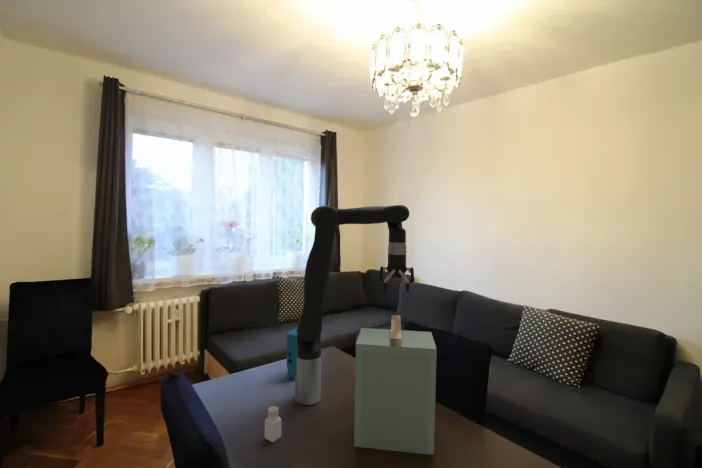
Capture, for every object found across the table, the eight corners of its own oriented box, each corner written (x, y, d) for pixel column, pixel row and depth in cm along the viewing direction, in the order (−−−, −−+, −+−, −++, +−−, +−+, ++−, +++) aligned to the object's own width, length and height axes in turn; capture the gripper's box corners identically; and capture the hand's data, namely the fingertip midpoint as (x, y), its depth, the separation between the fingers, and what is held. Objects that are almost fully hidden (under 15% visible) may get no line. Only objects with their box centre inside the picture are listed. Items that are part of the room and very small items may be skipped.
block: (294, 381, 148) (295, 335, 147) (285, 378, 150) (285, 333, 149) (310, 370, 158) (311, 328, 158) (301, 368, 161) (302, 326, 160)
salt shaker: (263, 438, 108) (264, 409, 108) (273, 432, 112) (273, 404, 111) (272, 443, 106) (273, 413, 106) (282, 437, 109) (282, 407, 109)
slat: (390, 346, 103) (390, 338, 103) (391, 321, 129) (391, 315, 129) (401, 346, 102) (401, 338, 102) (400, 321, 128) (400, 315, 128)
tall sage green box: (354, 446, 105) (355, 343, 104) (359, 417, 121) (361, 327, 120) (433, 455, 102) (436, 349, 101) (428, 423, 118) (431, 332, 117)
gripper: (379, 253, 140) (378, 293, 140) (414, 254, 138) (414, 294, 138) (380, 252, 147) (379, 289, 148) (414, 252, 145) (413, 290, 146)
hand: (396, 291), depth 143 cm, fingers open, 8 cm apart
